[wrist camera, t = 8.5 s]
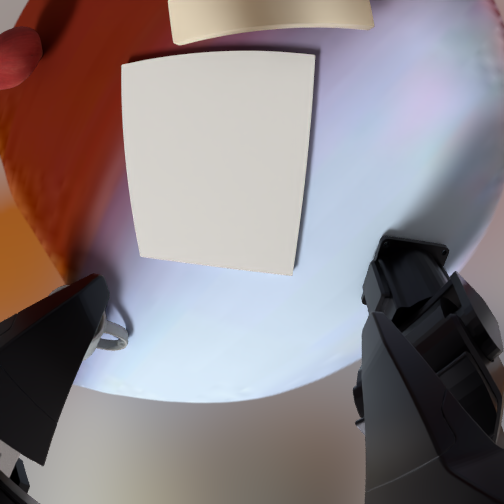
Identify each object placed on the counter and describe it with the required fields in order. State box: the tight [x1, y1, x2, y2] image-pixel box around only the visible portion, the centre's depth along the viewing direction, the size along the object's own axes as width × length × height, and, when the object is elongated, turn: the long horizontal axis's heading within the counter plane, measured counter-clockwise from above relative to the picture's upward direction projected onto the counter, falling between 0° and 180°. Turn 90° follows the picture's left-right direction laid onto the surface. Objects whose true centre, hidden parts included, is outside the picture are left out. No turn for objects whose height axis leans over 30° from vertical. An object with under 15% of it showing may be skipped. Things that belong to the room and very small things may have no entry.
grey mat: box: [122, 51, 315, 276], centre depth 18 cm, size 13×16×1 cm
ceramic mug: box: [49, 285, 128, 361], centre depth 27 cm, size 11×8×8 cm
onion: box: [0, 26, 43, 90], centre depth 10 cm, size 6×6×8 cm
